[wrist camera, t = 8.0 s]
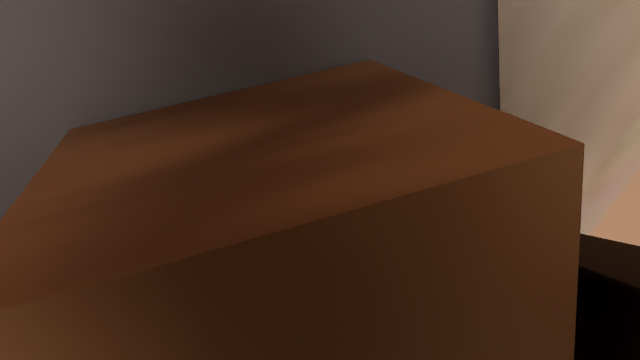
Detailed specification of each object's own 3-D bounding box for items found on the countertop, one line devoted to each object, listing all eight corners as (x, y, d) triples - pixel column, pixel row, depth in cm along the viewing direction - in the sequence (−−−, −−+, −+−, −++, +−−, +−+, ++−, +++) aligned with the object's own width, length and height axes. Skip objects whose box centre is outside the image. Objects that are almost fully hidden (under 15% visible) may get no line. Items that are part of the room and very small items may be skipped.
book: (400, -188, 12) (491, -260, 9) (443, 315, 19) (505, 393, 15) (-132, -116, 10) (-299, -171, 7) (122, 422, 17) (107, 542, 13)
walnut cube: (370, 59, 10) (585, 144, 5) (400, 293, 13) (565, 522, 7) (68, 129, 9) (-90, 336, 4) (165, 368, 12) (153, 701, 6)
